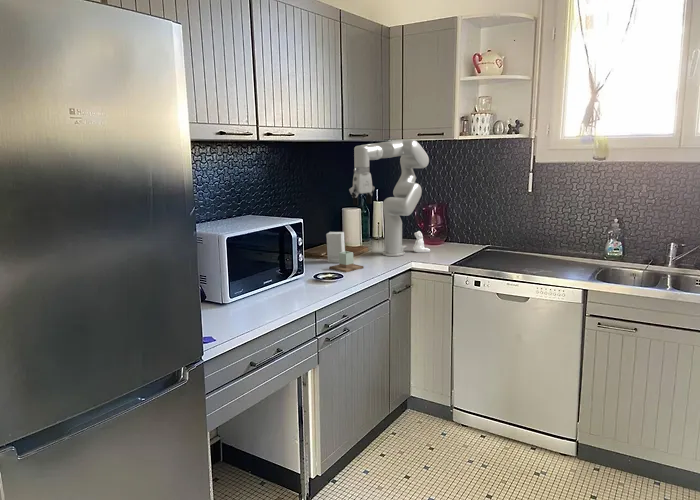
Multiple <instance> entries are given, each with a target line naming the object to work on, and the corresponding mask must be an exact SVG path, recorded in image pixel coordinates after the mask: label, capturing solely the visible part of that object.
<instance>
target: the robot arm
mask: <svg viewBox="0 0 700 500" xmlns="http://www.w3.org/2000/svg"><path fill="white" fill-rule="evenodd" d="M353 150H354V151H353V152H354V153H353V154H354V155H353V157H354V159H353V160H354V169H353V172H354V173H353V178H352V187H350V188H349V189H348V191H349V193H350V195H351V197H352V205H353V206H359V195H361V194H366V198H365V199H366V200H365V201H366V202H365V203H366V204H367V205H368V204H369V205H371V204H372V202H373V199H372V198H373V194H374V192H375V186H374V185H373V179H372V174H371V172H370V161H375V160H376V161H377V160H380V159H388V158H389V159H390V158H395V157H400V159H399V160H400V161H399V163H400V169H401V174H400V176H399V179H398V181H397V182H396V184H395V186H394V188H393V191H392V194H393V196H390V197H386V198H385V199H384V200H383V203H382V211H383V217H384V250H383V251H382V252H381V254H382V255H383V256H387V257H399V256H404V255H405V254H406V252H405V251H404V250H405V249H406V250H407V249H408V245H403V221H402V218H401V216H403V217H405V216H406V217H407V216H411V214H412V213H413V212H414V210H415V209H416V206H417V204H418V203H419V201H420V199H421V197H422V194H423V193H422V192H423V191H422V190H423V189H422V186H421V184H419V183H417V182H416V181H417V180H416V179H417V176H416V174H415V171H414V169H425V168H426V167H427V166H428V165H429V163H430V158H429V156H428V154H427V152H426V151H425V149H424V148H423V147H422V145H421V144H420V143H419V142H418V141H417V140H416V139H397V140H389V141H382V142H375V143H367V144H361V145H356V146H355V147H354V148H353Z"/></svg>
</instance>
